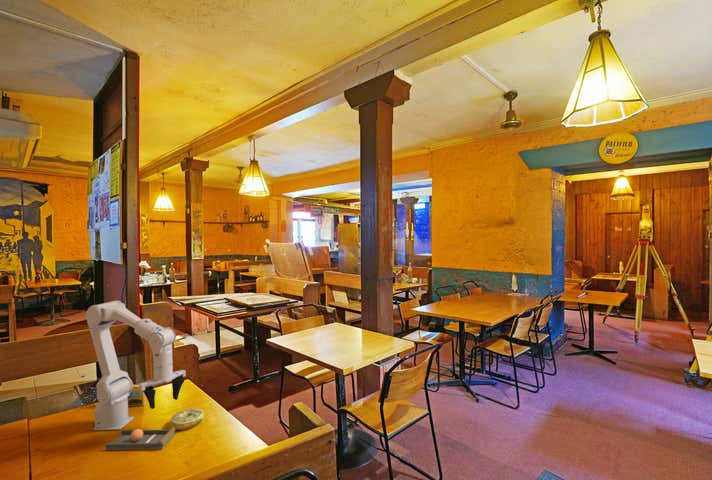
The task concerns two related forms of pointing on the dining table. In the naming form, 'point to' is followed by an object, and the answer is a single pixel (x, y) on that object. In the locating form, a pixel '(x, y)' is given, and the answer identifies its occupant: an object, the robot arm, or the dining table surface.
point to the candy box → (136, 397)
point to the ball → (136, 435)
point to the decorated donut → (186, 419)
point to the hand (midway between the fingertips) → (164, 403)
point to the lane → (142, 440)
